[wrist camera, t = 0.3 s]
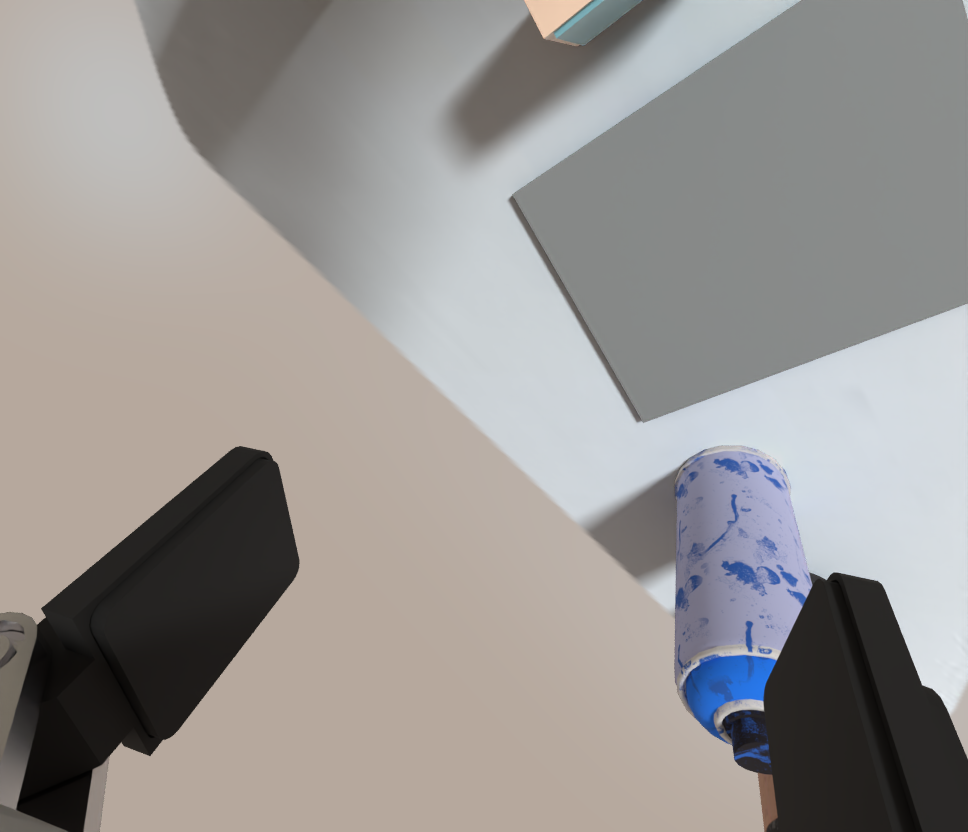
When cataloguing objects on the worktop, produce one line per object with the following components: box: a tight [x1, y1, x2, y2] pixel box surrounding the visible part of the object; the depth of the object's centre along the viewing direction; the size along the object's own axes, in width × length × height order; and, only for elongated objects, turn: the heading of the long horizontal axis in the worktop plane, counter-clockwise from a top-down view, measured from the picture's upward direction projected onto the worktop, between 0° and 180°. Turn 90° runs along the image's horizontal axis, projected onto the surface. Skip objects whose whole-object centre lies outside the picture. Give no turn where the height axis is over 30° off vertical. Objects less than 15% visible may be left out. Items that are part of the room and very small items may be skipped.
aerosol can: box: [675, 446, 812, 775], centre depth 33 cm, size 8×8×20 cm
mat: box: [512, 0, 968, 423], centre depth 32 cm, size 22×18×1 cm
